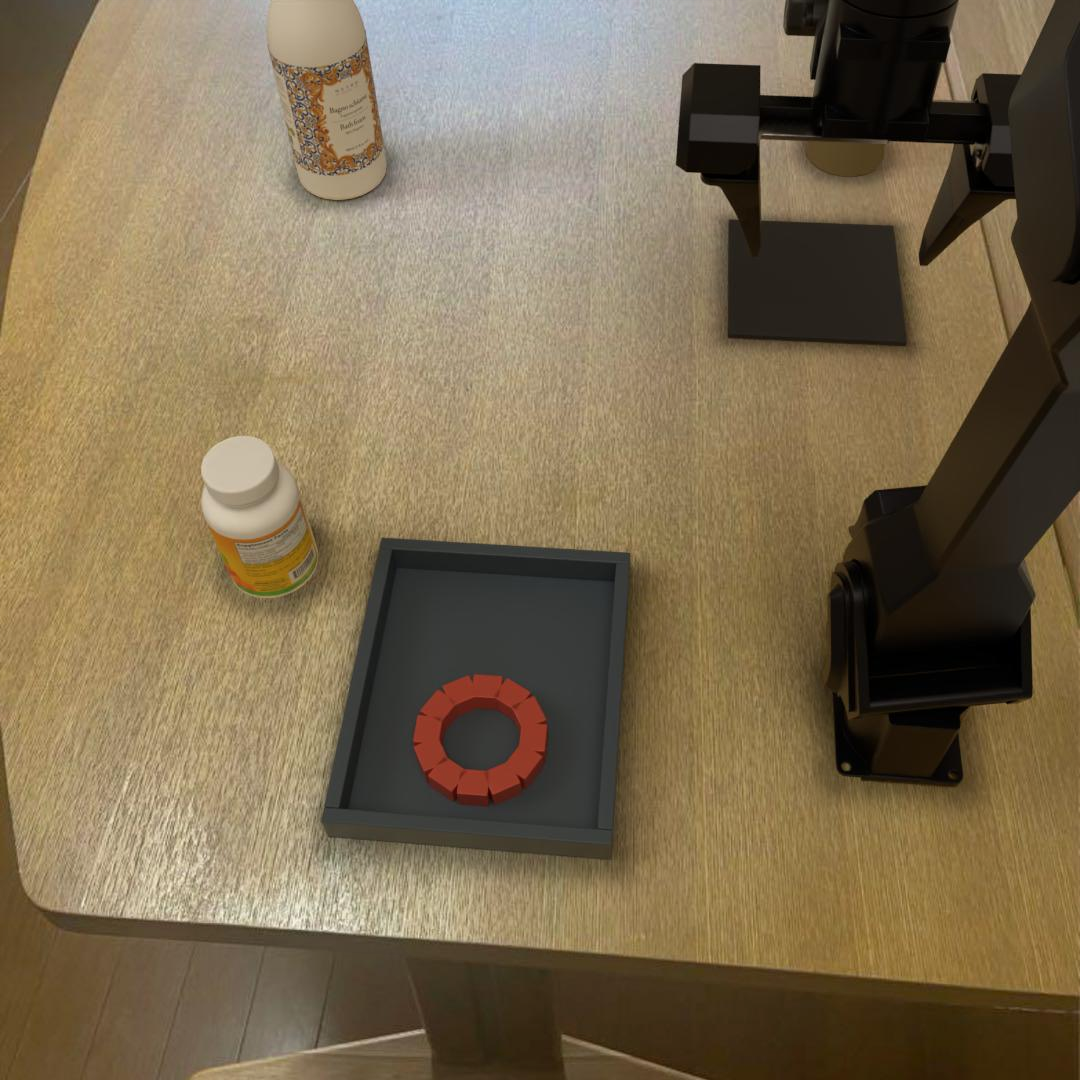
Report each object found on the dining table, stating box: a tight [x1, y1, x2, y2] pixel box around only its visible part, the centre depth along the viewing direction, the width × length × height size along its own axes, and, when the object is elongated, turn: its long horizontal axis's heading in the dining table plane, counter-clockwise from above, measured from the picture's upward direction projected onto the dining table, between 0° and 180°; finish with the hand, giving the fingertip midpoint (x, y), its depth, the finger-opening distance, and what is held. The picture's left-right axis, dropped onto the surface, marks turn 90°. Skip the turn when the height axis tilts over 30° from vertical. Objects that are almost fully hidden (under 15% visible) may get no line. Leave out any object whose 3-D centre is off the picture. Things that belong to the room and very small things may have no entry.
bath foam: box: [265, 0, 387, 201], centre depth 85 cm, size 7×7×20 cm
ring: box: [413, 674, 548, 806], centre depth 63 cm, size 7×7×1 cm
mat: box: [727, 218, 908, 347], centre depth 85 cm, size 12×12×1 cm
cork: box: [805, 141, 886, 177], centre depth 89 cm, size 6×6×11 cm
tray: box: [320, 537, 631, 861], centre depth 65 cm, size 18×15×2 cm
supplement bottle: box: [200, 435, 319, 599], centre depth 68 cm, size 5×5×10 cm
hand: (838, 256), depth 66 cm, fingers open, 9 cm apart
